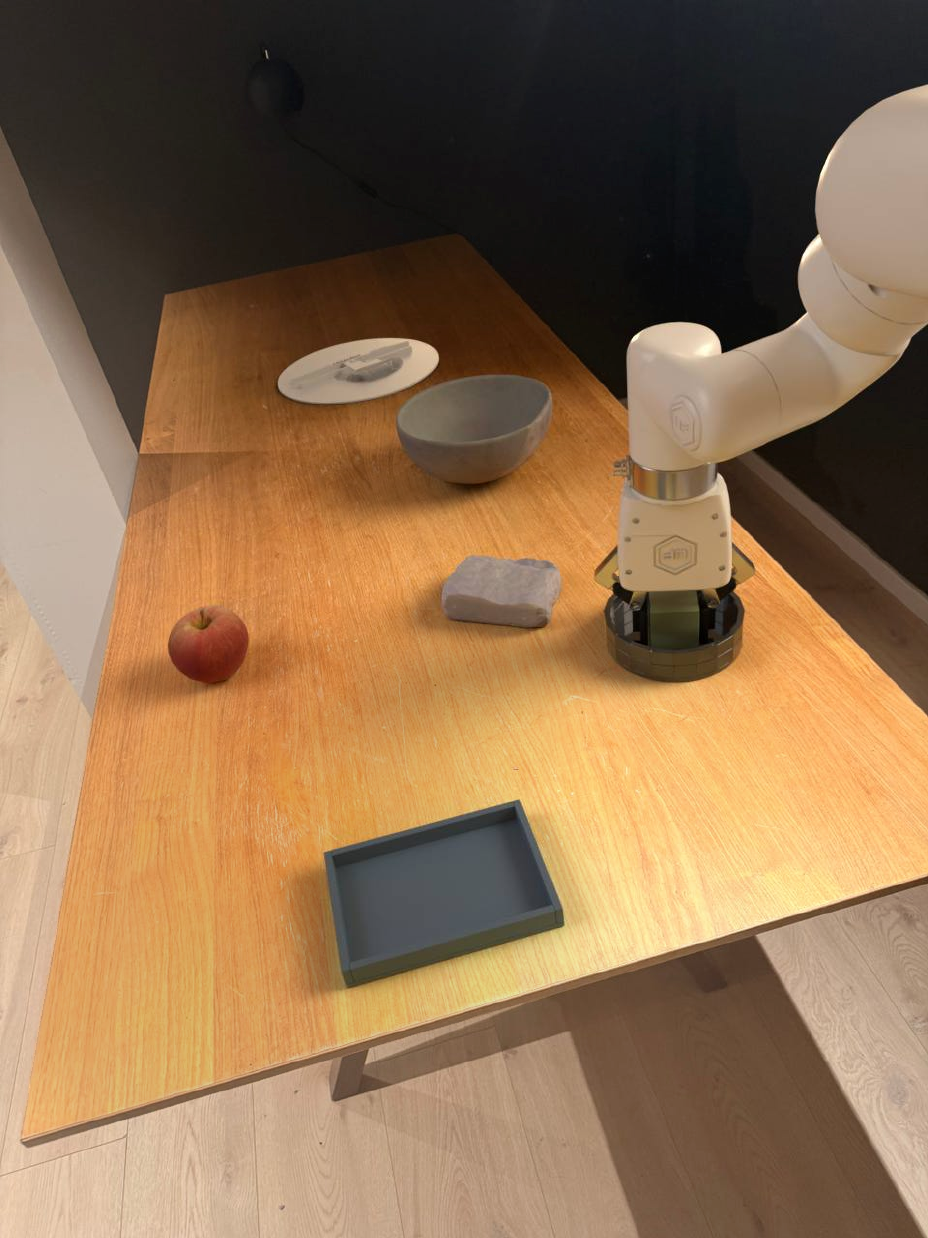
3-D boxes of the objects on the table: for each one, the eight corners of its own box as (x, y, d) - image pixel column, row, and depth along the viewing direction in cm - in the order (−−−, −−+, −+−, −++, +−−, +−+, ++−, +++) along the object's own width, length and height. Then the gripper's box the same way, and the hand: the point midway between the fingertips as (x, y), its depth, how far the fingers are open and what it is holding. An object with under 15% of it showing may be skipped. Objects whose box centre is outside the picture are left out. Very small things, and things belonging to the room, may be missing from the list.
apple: (273, 655, 100) (253, 593, 96) (227, 703, 95) (203, 640, 90) (214, 641, 104) (192, 581, 99) (166, 687, 98) (141, 625, 94)
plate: (394, 327, 179) (393, 321, 178) (468, 367, 158) (467, 360, 157) (255, 372, 169) (253, 365, 169) (315, 420, 149) (313, 413, 148)
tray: (521, 815, 78) (519, 798, 77) (564, 926, 69) (563, 908, 68) (328, 868, 76) (323, 852, 75) (347, 988, 67) (341, 972, 66)
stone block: (468, 585, 109) (437, 622, 101) (467, 546, 107) (435, 581, 99) (569, 598, 105) (545, 637, 97) (570, 557, 103) (546, 594, 95)
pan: (764, 621, 94) (766, 592, 92) (706, 699, 86) (707, 669, 84) (645, 587, 102) (644, 560, 100) (581, 656, 94) (579, 628, 92)
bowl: (438, 435, 139) (428, 369, 133) (574, 441, 131) (569, 372, 126) (382, 504, 124) (367, 434, 118) (531, 515, 117) (523, 441, 111)
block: (694, 620, 95) (695, 583, 92) (698, 648, 92) (699, 610, 89) (649, 621, 96) (648, 585, 93) (651, 649, 92) (650, 612, 90)
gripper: (574, 497, 81) (585, 661, 92) (781, 485, 79) (768, 656, 89) (576, 456, 87) (586, 614, 98) (768, 444, 85) (758, 608, 95)
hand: (673, 632), depth 94 cm, fingers open, 5 cm apart
